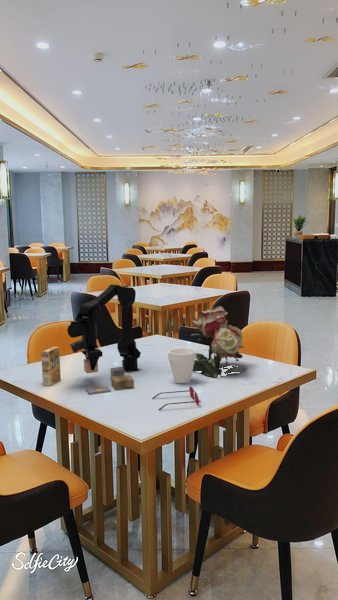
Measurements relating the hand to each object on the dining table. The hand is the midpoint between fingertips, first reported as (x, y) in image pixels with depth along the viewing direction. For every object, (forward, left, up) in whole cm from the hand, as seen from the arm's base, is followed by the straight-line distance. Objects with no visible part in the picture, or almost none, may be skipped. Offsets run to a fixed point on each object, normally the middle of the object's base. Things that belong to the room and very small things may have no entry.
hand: (91, 368), depth 223 cm
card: (0, +12, -6) cm, 14 cm away
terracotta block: (0, 0, -1) cm, 1 cm away
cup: (-37, +14, -7) cm, 40 cm away
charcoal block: (-12, -1, -7) cm, 14 cm away
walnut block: (-11, +10, -7) cm, 16 cm away
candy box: (+16, -8, -7) cm, 19 cm away
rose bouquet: (-61, +3, -7) cm, 61 cm away
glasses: (-24, +38, -7) cm, 46 cm away
